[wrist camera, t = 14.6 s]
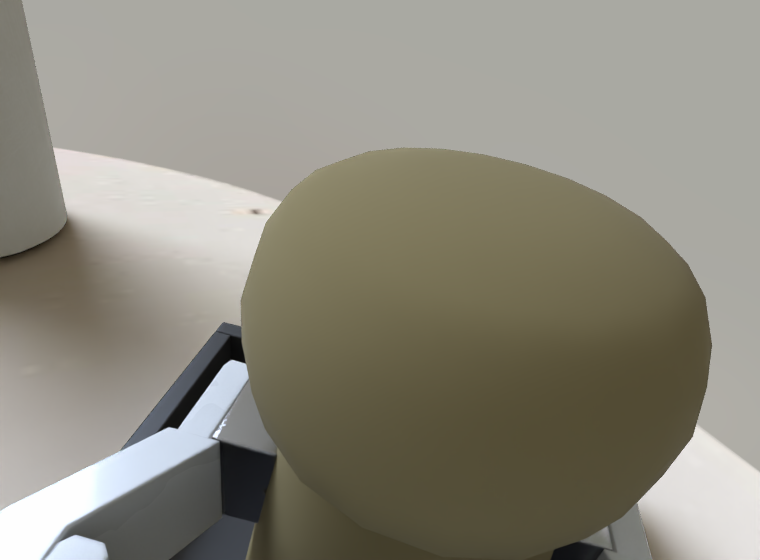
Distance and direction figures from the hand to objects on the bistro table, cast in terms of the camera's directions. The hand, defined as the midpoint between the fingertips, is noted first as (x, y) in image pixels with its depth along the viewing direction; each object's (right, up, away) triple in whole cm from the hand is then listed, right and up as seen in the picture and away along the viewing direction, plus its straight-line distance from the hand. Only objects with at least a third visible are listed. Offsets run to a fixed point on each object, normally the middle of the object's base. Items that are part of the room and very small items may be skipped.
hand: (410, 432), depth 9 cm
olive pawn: (-1, -6, +3) cm, 6 cm away
